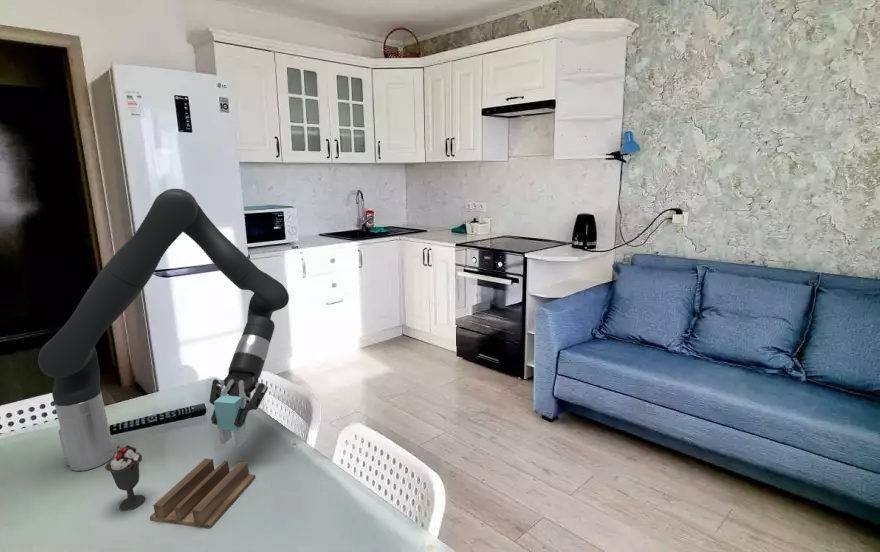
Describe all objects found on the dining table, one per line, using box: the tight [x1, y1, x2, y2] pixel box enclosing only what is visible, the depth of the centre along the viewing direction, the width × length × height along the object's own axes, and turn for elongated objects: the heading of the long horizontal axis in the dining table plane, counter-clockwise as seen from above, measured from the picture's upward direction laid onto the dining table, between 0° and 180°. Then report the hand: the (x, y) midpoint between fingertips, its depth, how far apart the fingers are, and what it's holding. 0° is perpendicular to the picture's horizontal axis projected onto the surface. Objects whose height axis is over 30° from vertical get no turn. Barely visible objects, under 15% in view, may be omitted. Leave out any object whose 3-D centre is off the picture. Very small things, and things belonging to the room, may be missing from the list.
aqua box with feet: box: [213, 395, 248, 447], centre depth 116 cm, size 5×3×11 cm, turn 78°
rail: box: [149, 457, 256, 529], centre depth 106 cm, size 14×16×4 cm
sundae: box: [104, 444, 147, 512], centre depth 104 cm, size 7×7×15 cm
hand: (226, 425), depth 114 cm, fingers closed on aqua box with feet, 5 cm apart
